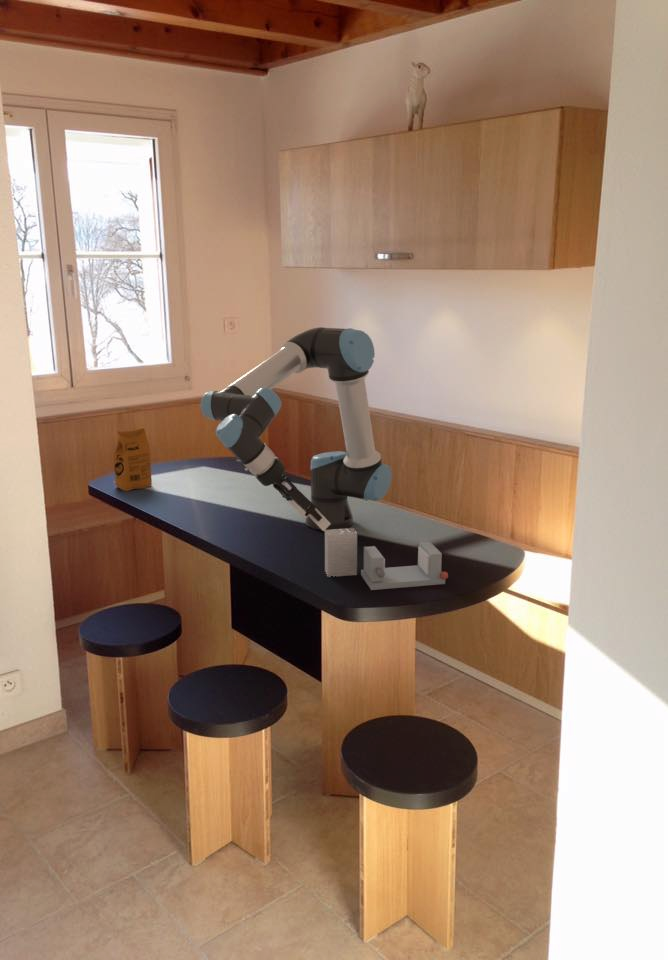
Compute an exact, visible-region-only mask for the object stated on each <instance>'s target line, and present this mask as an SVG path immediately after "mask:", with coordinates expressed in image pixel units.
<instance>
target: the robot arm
mask: <svg viewBox="0 0 668 960" xmlns="http://www.w3.org/2000/svg"><path fill="white" fill-rule="evenodd" d="M374 358H375V346H374V343H373V340H372V338H371V336H369V334H367V333H366V332H365V331H363V330H360V329H353V328H339V327H338V328H335V327H322V326H321V327H314V328H309V329H308V330H305V331H303V332H301V333H298V334H297V335H295V336H292V337H291V338H289V339H288V340H286V341H285V342H284V343H282V344H281V345H280V347H279V350H278V351H277V352H276V353H274V354H273V355H272V356H269V358H267V359H266V360H264V361H263V362H261V363H260V364H259V365H258V364H257V366H255V367H254V368H252V369H251V370H250V371H248V372H247V373H245V374H244V375H242V376H241V377H240V378H238V379H237V380H235V381H234V382H232V383H231V384H229V385H228V386H226V387H225V388H223V389H222V390H220V391H218V390H211V391H207V392H205V393H204V394H203V396H202V398H201V401H200V410H201V414H202V415H203V416H204V417H205V418H207V419H210V420H214V421H216V422H220V421H221V422H220V423H219V424H218V425H217V427H216V428H215V436H216V437H217V439H218V440H219V441H220V442H221V443H222V445H223V446H224V448H226V449H227V450H229V452H230V453H231V454H232V455H233V456H234V457H235V458H236V459H237V460H239V462H240V463H242V464H243V465H244V471H246V472H248V471H249V472H250V473H251V474H252V475H254V477H255V478H256V480H257V481H258V482H259V483H260V484H261V485H262V486H265V487H268V486H271V485H272V487H273V488H274V489H275V490H276V491H277V492H278V493H279V494H281V496H282V498H284V499H285V500H286V501H288V502H289V504H290V505H291V506H292V507H293V508H294V509H295V510H296V511H297V512H298V513H299V514H300V515H301V516H302V517H303V519H305V525H306V526H307V527H308V526H309V528H310V527H311V529H313V530H319V531H323V532H325V530H332V529H346V528H351V527H352V525H353V524H354V517H353V516H354V515H353V514H352V513H353V512H352V510H351V507H350V504H349V500H348V497H349V498H355V499H358V500H359V499H361V500H363V501H364V500H365V501H371V502H372V501H373V502H377V501H380V500H382V499H383V498H384V497H385V496H386V494H387V493H388V491H389V489H390V486H391V483H392V476H393V475H392V469H391V467H390V466H389V465H387V464H385V463H383V459H382V456H381V455H382V454H381V453H380V452H379V451H377V450H376V447H375V441H374V434H373V433H374V432H373V427H372V420H371V414H370V405H369V400H368V393H367V387H366V381H365V379H366V377H367V376H368V375H369V372H370V371H369V370H370V369H371V368H372V366H373V364H374ZM310 368H311V369H313V368H321V369H327V373H328V378H329V379H328V380H330V381H332V382H333V383H334V384H335V388H336V396H337V402H338V407H339V414H340V418H341V425H342V431H343V438H344V444H345V449H346V450H345V451H341V450H340V451H339V450H337V451H329V452H322V453H319V454H316V455H313V456H312V458H311V459H310V469H309V470H310V499H308V497H306V496H305V495H304V493H302V492H301V491H300V489H299V488H297V486H296V485H295V484H294V483H293V482H292V481H291V480H290V478H289V477H287V476H285V474H284V473H285V469H286V465H285V464H284V463H283V461H281V460H280V459H279V457H278V456H276V455H275V453H274V451H272V450H271V448H269V446H267V444H266V443H264V441H263V440H262V439H261V438H260V437H261V436H262V435H263V433H264V432H265V430H267V428H268V427H269V425H270V424H271V423H272V421H273V420H274V419H275V418H276V416H277V415H278V413H279V411H280V410H281V408H282V404H283V403H282V400H281V399H280V396H279V395H278V394H277V392H275V391H273V389H274V388H275V387H277V386H278V385H280V384H281V383H283V382H284V381H285V380H287V379H288V378H290V377H291V376H292V375H293V374H300V373H303V371H305V370H308V369H310Z"/></svg>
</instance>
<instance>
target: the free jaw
mask: <svg viewBox="0 0 668 960" xmlns="http://www.w3.org/2000/svg"><path fill="white" fill-rule="evenodd" d="M385 568H386V559H385V557H384V556H383V555H382V553H381V552H380V550H378V548H377V547H376V546H375V545H373V546H372V545H371V546H363V570H364V571H365V572H366V574H367V575H368V577H369V578H370V580H371V581H372V582H378V581H383V578H385Z"/></svg>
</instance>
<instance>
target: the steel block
mask: <svg viewBox="0 0 668 960" xmlns="http://www.w3.org/2000/svg"><path fill="white" fill-rule="evenodd" d="M325 572H326V573H325ZM324 573H325V575H326V574H327V575H326V577H327V578H334V577H335V576H336V577H344V576H345V577H346V576H357V575H358V531H356V529H355V527H348V528H345V529H332V530H324ZM331 576H333V577H331ZM336 577H335V578H336Z"/></svg>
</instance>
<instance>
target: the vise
mask: <svg viewBox="0 0 668 960" xmlns="http://www.w3.org/2000/svg"><path fill="white" fill-rule="evenodd" d="M417 549H418V550H417V564H416V565H406V566H405V565H403V566H393V567H392V566H391V567H385V578H383V581H378V582H372V581H371V580H370V578H369V577H368V575H367V574H366V572H365V571H364V569H360V576H361V577H362V579H363V580H364V582H365V583H366V584H367V586H368V587H369V589H370V590H371V591H375V590H377V591H378V590H388V589H389V590H390V589H400V588H412V587H413V588H414V587H423V586H426V587H427V586H434V585H435V586H436V585H437V586H438V585H446V580H447V579H448V578H449V574H448V572H447V571H442V558H443V557H442V556H443V554H442V552H441V551H440V550H439V549H438V548H437V547H436V546H435V545H434V544H433V543H432V542H431V541H430V540H429V541H419V542H418V547H417Z"/></svg>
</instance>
